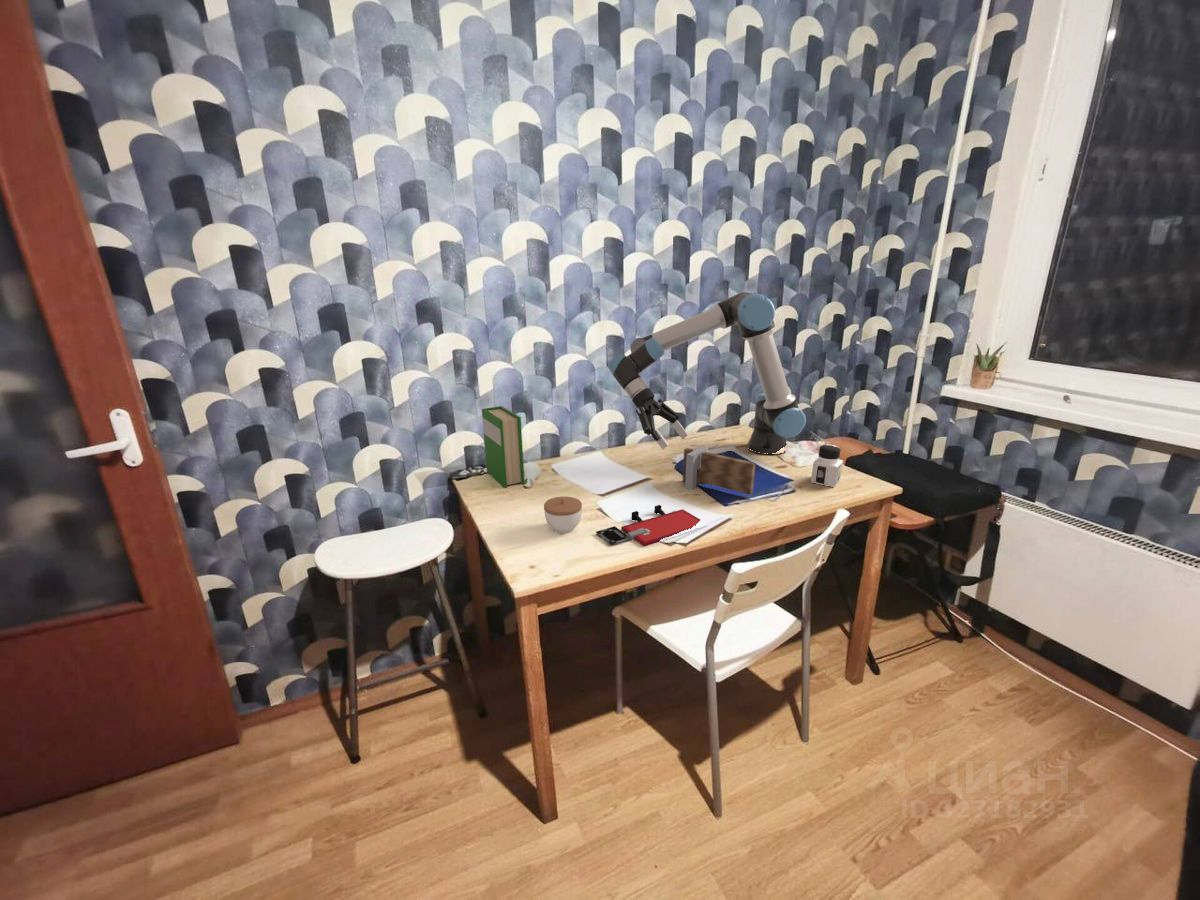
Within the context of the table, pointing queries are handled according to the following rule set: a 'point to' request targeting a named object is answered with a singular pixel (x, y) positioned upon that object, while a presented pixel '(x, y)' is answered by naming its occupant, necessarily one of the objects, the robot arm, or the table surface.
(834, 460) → the container
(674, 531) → the red board with handle
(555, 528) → the lidded jar
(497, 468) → the hardback book
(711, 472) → the walnut slotted board
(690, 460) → the grey slotted plate
